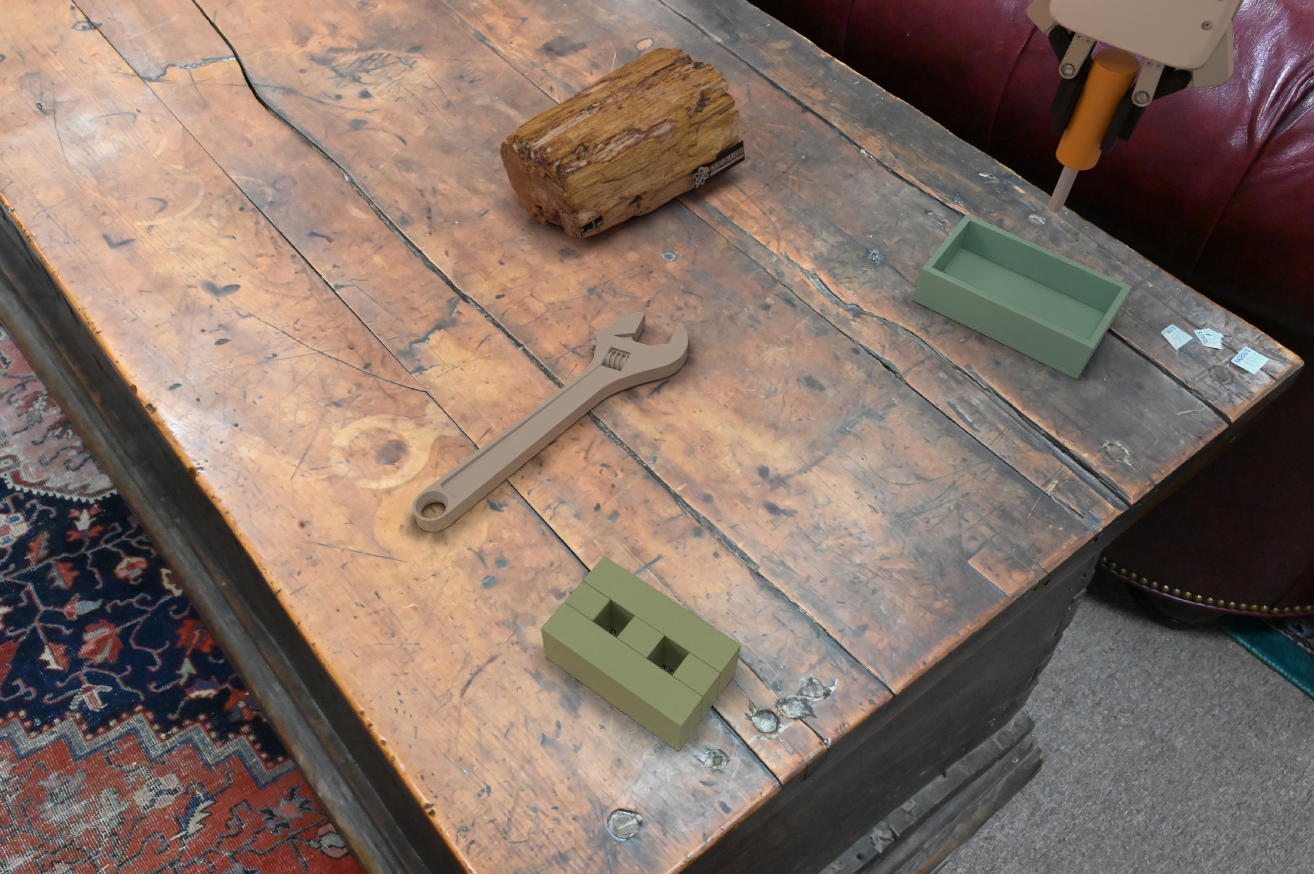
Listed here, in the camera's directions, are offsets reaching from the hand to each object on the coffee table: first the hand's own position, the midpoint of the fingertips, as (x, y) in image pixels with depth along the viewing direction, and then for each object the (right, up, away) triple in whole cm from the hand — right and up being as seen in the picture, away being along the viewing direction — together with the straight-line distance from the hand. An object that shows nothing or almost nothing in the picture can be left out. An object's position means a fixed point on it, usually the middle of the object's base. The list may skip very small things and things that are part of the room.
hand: (1087, 132), depth 69 cm
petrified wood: (-33, +2, +22) cm, 40 cm away
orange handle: (0, -4, +5) cm, 7 cm away
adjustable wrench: (-37, -19, +6) cm, 42 cm away
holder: (-30, -35, -6) cm, 47 cm away
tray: (0, -10, +14) cm, 17 cm away
